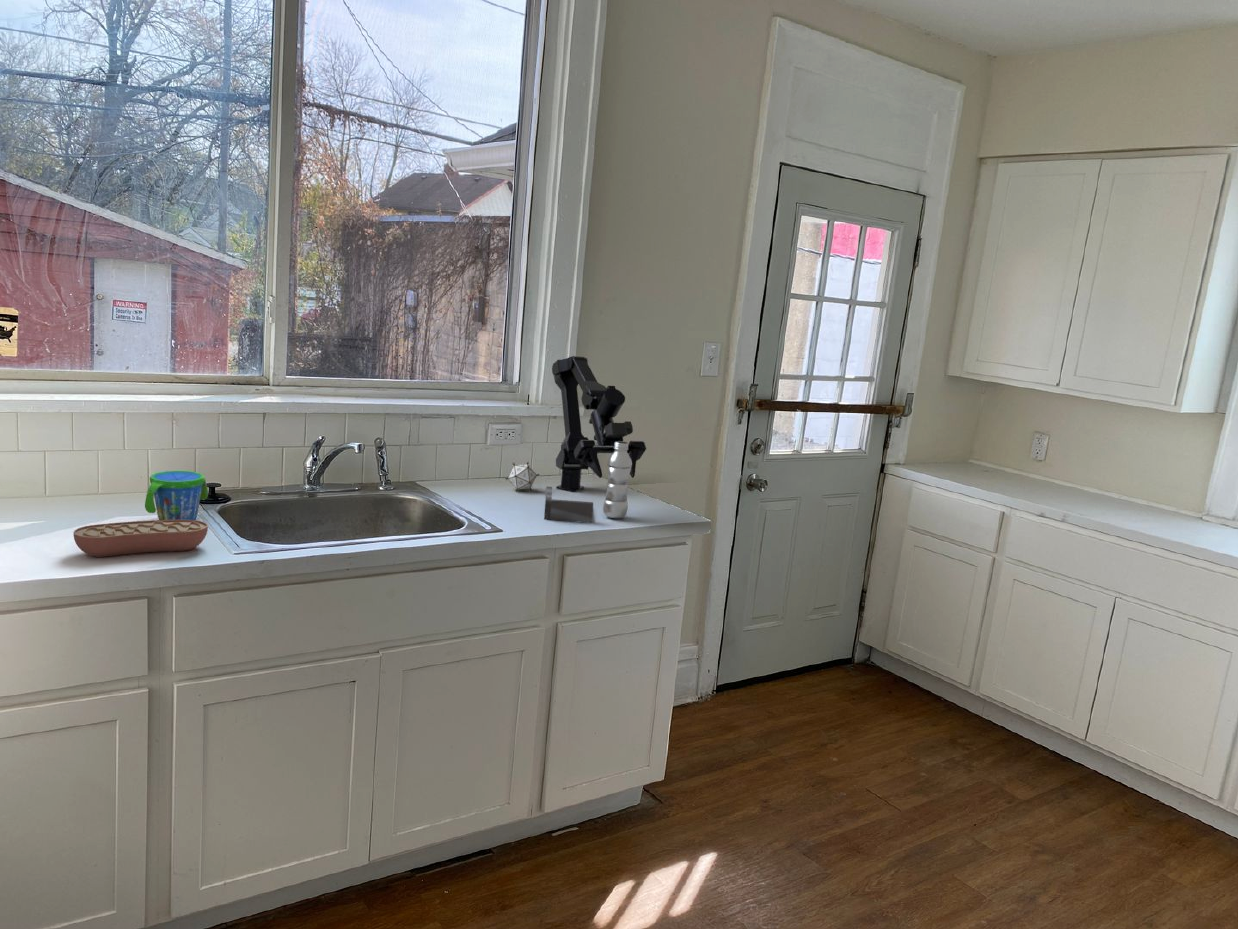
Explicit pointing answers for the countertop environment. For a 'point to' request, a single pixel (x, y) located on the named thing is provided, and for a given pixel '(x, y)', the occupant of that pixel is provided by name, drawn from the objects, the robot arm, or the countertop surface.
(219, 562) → the countertop surface
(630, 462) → the plastic bottle
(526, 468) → the game die
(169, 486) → the snack cup
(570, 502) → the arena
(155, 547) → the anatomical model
